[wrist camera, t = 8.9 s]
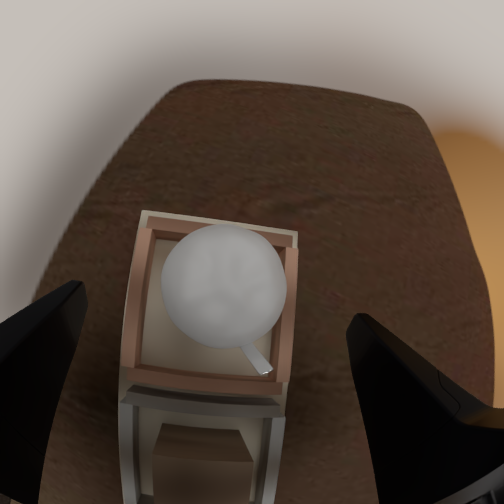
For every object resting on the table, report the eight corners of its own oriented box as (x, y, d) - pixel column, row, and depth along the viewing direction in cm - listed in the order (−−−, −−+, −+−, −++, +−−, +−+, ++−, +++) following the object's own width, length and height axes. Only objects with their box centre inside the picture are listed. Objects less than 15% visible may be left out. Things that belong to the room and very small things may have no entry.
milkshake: (191, 362, 16) (190, 398, 7) (166, 281, 17) (140, 220, 8) (259, 341, 18) (333, 345, 8) (233, 263, 19) (277, 189, 9)
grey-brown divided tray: (266, 514, 15) (287, 556, 9) (127, 504, 13) (112, 547, 7) (293, 235, 21) (327, 203, 15) (144, 215, 19) (127, 174, 14)
